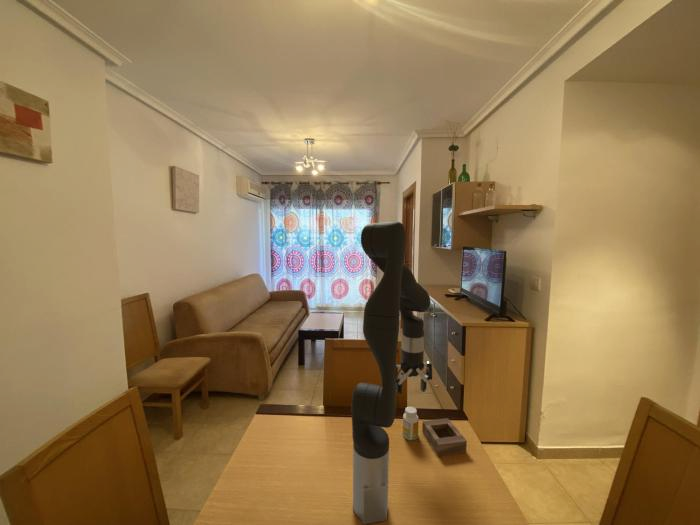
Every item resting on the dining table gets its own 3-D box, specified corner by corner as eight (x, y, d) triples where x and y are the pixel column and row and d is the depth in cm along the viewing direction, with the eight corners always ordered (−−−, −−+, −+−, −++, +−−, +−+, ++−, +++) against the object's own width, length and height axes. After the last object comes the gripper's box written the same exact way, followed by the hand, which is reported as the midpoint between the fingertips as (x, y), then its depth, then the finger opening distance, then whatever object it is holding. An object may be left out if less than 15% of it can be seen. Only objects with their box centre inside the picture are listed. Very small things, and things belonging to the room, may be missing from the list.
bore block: (466, 452, 98) (466, 440, 98) (438, 456, 96) (438, 444, 96) (447, 428, 110) (448, 418, 109) (422, 431, 108) (422, 421, 107)
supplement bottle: (417, 430, 108) (417, 405, 107) (418, 441, 103) (419, 414, 102) (402, 429, 109) (402, 404, 108) (403, 440, 104) (403, 413, 102)
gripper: (396, 353, 97) (395, 400, 99) (436, 350, 100) (435, 395, 102) (389, 344, 105) (388, 388, 107) (427, 341, 107) (425, 384, 109)
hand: (411, 391), depth 104 cm, fingers open, 8 cm apart
